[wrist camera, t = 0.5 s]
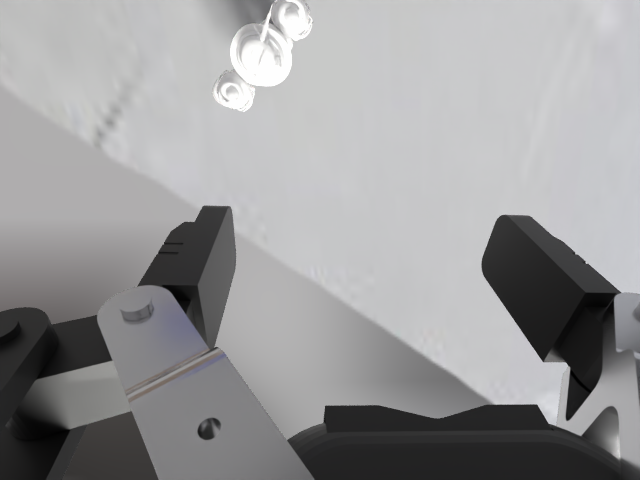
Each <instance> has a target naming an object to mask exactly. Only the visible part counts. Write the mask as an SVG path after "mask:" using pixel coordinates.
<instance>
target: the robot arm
mask: <svg viewBox="0 0 640 480" xmlns="http://www.w3.org/2000/svg"><path fill="white" fill-rule="evenodd" d="M585 262H586V261H584V260H583V259H582V258H581V257H580V256H579V255H575V252H574V251H573V250H572V249H571V248H570V247H568V246H567V245H566V244H565V243H564V242H563V241H561V240H559V239H557V238H555V237H554V236H552V235H551V234H550V233H549V232H548V231H546V230H545V229H544V228H543V227H542V226H541V225H540V224H539V223H537V222H536V221H535V220H534V219H533V218H532V217H530V216H525V215H502V216H500V217H499V218H498V219H497V221H496V223H495V225H494V228H493V231H492V233H491V236H490V239H489V241H488V244H487V247H486V249H485V252H484V255H483V258H482V272H483V275H484V277H485V278H486V280H487V281H488V283H489V284H490V286H491V287H492V289H493V290H494V292H495V293H496V294H497V296H498V297H499V299H500V300H501V302H502V303H503V305H504V306H505V307H506V309H507V310H508V312H509V313H510V315H511V316H512V318H513V319H514V321H515V322H516V323H517V325H518V326H519V328H520V329H521V331H522V332H523V334H524V335H525V336H526V338H527V339H528V341H529V342H530V344H531V345H532V347H533V348H534V350H535V351H536V352H537V354H538V355H539V357H540V358H541V360H542V361H543V362H566V363H567V364H568V367H567V369H566V370H565V372H564V373H563V376H562V383H561V391H560V399H559V408H558V416H557V424H556V426H554V425H551V424H548V422H547V420H546V419H545V417H544V415H543V414H542V412H541V410H540V409H539V407H538V405H484V406H481V407H478V408H474V409H471V410H468V411H464V412H461V413H458V414H454V415H451V416H448V417H444V418H440V419H434V418H430V417H425V416H421V415H417V414H413V413H408V412H404V411H400V410H396V409H392V408H387V407H383V406H377V405H373V406H372V405H368V406H325V412H324V422H323V423H322V424H319V425H316V426H313V427H310V428H308V429H306V430H304V431H301V432H299V433H298V434H296V435H295V436H293V437H291V438H290V439H288V440H286V438H285V437H284V436H283V434H282V433H281V431H280V430H279V429H278V427H277V426H276V424H275V423H274V422H273V420H272V419H271V417H270V416H269V415H268V413H267V412H266V410H265V409H264V408H263V406H262V405H261V403H260V402H259V401H258V399H257V398H256V396H255V395H254V394H253V392H252V391H251V389H250V388H249V387H248V385H247V384H246V382H245V381H244V380H243V378H242V377H241V375H240V374H239V373H238V371H237V370H236V368H235V367H234V366H233V364H232V363H231V362H230V360H229V359H228V357H227V356H226V354H225V353H224V352H223V351H222V350H221V349H220V348H218V347H215V348H214V346H215V342H216V339H217V335H218V331H219V327H220V324H221V320H222V317H223V313H224V309H225V305H226V302H227V298H228V294H229V290H230V287H231V283H232V279H233V275H234V272H235V266H236V248H235V237H234V226H233V215H232V209H231V207H230V206H203V207H202V209H201V211H200V213H199V215H198V217H197V218H196V221H195V222H184V223H182V224H181V225H179V226H178V227H176V228H175V229H174V230H172V231H171V232H170V234H169V236H168V237H167V239H166V240H165V242H164V245H162V247H161V249H160V250H159V253H158V254H157V255H156V257H155V258H154V260H153V262H152V263H151V265H150V266H149V268H148V270H147V271H146V273H145V275H144V276H143V278H142V279H141V281H140V283H139V285H138V286H137V287H133V288H130V289H127V290H124V291H122V292H120V293H118V294H116V295H114V296H113V297H111V298H110V299H109V300H108V301H106V302H105V303H104V304H103V306H102V307H101V308H100V310H99V312H98V315H95V316H91V317H87V318H82V319H77V320H72V321H67V322H63V323H58V324H53V325H52V324H51V322H50V320H49V318H48V316H47V315H46V313H45V312H43V311H42V310H40V309H37V308H26V307H24V308H15V309H10V310H6V311H2V312H0V480H62V478H63V476H64V474H65V472H66V470H67V468H68V466H69V463H70V461H71V459H72V457H73V455H74V453H75V451H76V448H77V446H78V444H79V442H80V440H81V438H82V436H83V433H84V431H85V429H86V427H87V425H88V424H89V423H92V422H96V421H99V420H102V419H105V418H109V417H112V416H116V415H119V414H122V413H125V412H129V411H132V412H133V414H134V417H135V420H136V422H137V425H138V427H139V430H140V432H141V435H142V438H143V440H144V442H145V445H146V448H147V450H148V453H149V455H150V458H151V460H152V463H153V466H154V468H155V471H156V473H157V476H158V478H159V480H640V294H637V293H621V292H620V291H619V290H618V289H616V288H615V287H614V286H613V285H612V284H611V283H610V282H608V281H607V280H606V279H605V278H604V277H603V276H602V275H600V274H599V273H598V272H597V271H596V270H595V269H594V268H592V267H591V266H590V265H589V264H586V263H585Z"/></svg>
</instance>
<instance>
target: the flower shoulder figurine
mask: <svg viewBox="0 0 640 480" xmlns="http://www.w3.org/2000/svg"><path fill="white" fill-rule="evenodd" d="M277 1H278V0H275V2H274V3H273V4H272V5H271V8H270V11H269V13H268V16H267V18H266V19H265V20H264V21H262V23H261V24H256V23H250V24H247V25H245V26H243V27H242V28H241V29H240V30H239V31H238V32H237V33H236V35H235V36H234V38H233V41H232V44H231V50H230V54H231V61H232V64H233V66H234V69H233V70H231V71H230V72H229V71H228V70H226V71H225V72H227V73H225V72H224V73H225V74H224V73H222V75H221V76H220V77H219V78H218V79H217V81H216V82H215V84H214V87H213V93H212V94H213V96H214V98H215V99H216V101H217V102H219V103H220V104H222V105H224V106H226V107H230V108H232V109H235V108H236V109H237V110H239V111H242V112H244V111H246V110H247V109H249V108H250V106H251V105H252V103H253V97H254V95H255V93H254V92H253V91H255V88H254V87H253V86H251V85H248V84H252V85H256V86H274V85H277V84H279V83H281V82H282V81H283V80H284V79H285V78H286V77H287V76H288V74H289V72H290V69H291V65H292V55H291V51H290V50H291V49H292V47H293V40H295V39H296V40H295V41H297V40H299V39H302V38H305V37H306V36H307V35H308V34H309V32H310V30H311V28H312V25H313V22H312V18H311V17H310V16H309V13H310V8H309V7H308V5H307V3H306V2H305V1H304V0H279V1H278V2H277ZM276 2H277V3H276ZM275 3H276V4H275ZM274 5H275V6H274ZM305 5H306V6H307V7H308V9H309V13H308V10H307V8H306V6H305ZM270 16H271V19H272V21H273V25H272V24H271V23H269V20H270ZM309 17H310V18H311V22H312V23H311V22H310V24H309V22H308V21H309ZM309 26H310V27H309ZM304 29H305V32H304V33H303V34H301V35H300V33H301V32H303V30H304ZM223 74H224V75H223ZM222 76H223V77H222ZM221 77H222V78H221ZM220 78H221V80H220ZM219 80H220V81H219ZM218 83H219V84H218ZM251 91H252V92H253V93H254V94H252V92H251ZM248 99H249V102H248V104H247V105H248V106H247V105H246V106H247V107H246V106H245V107H246V108H245V107H243V106H244V105H245V104H246V103H247V101H248ZM241 107H243V108H242V109H241V110H240V109H238V108H241ZM244 108H245V109H244ZM243 109H244V110H243Z"/></svg>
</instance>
